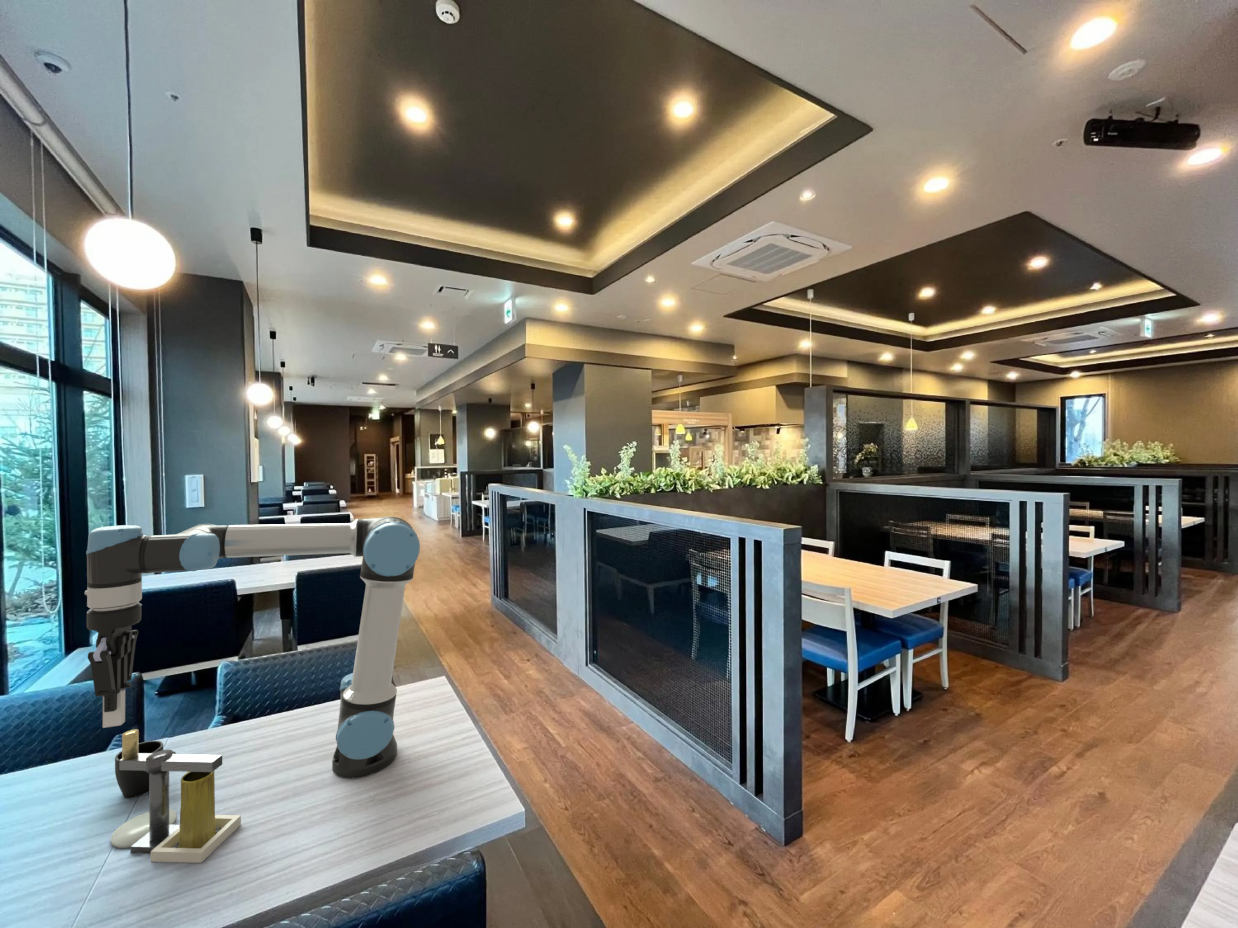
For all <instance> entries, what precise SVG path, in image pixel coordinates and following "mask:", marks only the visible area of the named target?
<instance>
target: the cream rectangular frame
mask: <svg viewBox="0 0 1238 928" xmlns="http://www.w3.org/2000/svg"><path fill="white" fill-rule="evenodd" d="M215 823H216V829H218V828H221V829H220V830H219V831H218V832H217V834H216V835H215V836H213V837H212V838H211V839H210V840H209V841H208V842H207V843H206V844H205V845H204V846H203V847H202V848H201V849H200V848H178V847H175V845H177V844H179V837H180V827H179V828H178V829H177V830H176V831H174V832H173V833H172V834H171V835H170V836H169V837H167V838H166V839H165V840H164V841H163V842H161V843H160V844H159V845H158V846H157V847H155V848H154V849H153V850H152V851H151V853H150V862H158V863H160V862H161V863H195V864H196V863H197V864H201V863H202V862H204V861H205V860H206V859H207V858H208V857H209V856H210V855H211V854H212V853H213V852H214V851H215V850H216V849H218V847H219V846H221V844H222V843H223V842H224V841H225V840H227V838H228V837H230V836H231V835H232V834H233V832H235V831H236V830H237V829H238V828H239V827H240V826H241V825H242V816H241V814H240V815H239V814H238V815H236V814H235V815H234V814H233V815H232V814H215Z"/></svg>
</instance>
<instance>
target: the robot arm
mask: <svg viewBox="0 0 1238 928" xmlns="http://www.w3.org/2000/svg"><path fill="white" fill-rule="evenodd" d="M420 545H421V544H420V539H419V537H418V534H417V533H416V532H415V530H414V529H413V527H412V525H411V524H410V523H409V522H407V520H405V519H403V518H400V517H398V516H383V517H376V518H375V517H374V518H356V519H354V520H353V521H352V522H348V523H347V522H345V523H343V522H342V523H339V522H338V523H293V524H292V523H287V524H283V523H282V524H234V525H233V524H231V525H221V524H220V525H216V524H212V523H199V524H196V525H192V526H190V527H189V528H187V529H186V530H183V531H181V532H179V533H174V534H161V535H160V534H158V535H152V534H151V535H148V534H146V535H145V534H144V532H143V529H142V527H141V526H139V525H133V524H131V525H129V524H126V525H125V524H123V525H109V526H107V525H106V526H101V527H96V528H93V529H92V530H91V531H90V532H89V534H88V539H87V547H86V551H85V552H86V553H85V555H86V569H87V570H86V579H87V583H86V587H87V589H86V590H85V591H84V595H85V596H86V598H87V599H86V600H87V601H86V607H88V608H89V609H88V610H87V612H86V629H87V630H89V631H93V632H97V636H96V637H97V638H96V639H95V640H96V641H95V648H96V649H95V651H89V652H88V654H87V659H88V661H89V663H90V668H91V673H92V674H91V675H92V680H93V687H94V693H95V697H102V728H103V729H104V728H112V727H119V726H122V725H123V724H124V723H125V722H126V689H127V688H131V687H132V686H133V682H129V681H132V677H133V670H134V669H133V667H134V661H135V651H136V644H137V639H138V635H139V630H138V629H133V628H132V626H134V625H136V624H138V623H140V621H142V603H140V601H142V599H143V590H142V589H143V580H142V579H143V576H142V575H143V574H152V573H153V574H154V573H171V572H172V573H174V572H189V571H190V572H196V571H199V570H210V569H212V568H214V567H215V566H216V565H217V563H218V561H219V559H227V558H249V557H250V558H252V557H253V558H254V557H275V556H276V557H277V556H279V557H280V556H282V557H283V556H298V555H299V556H300V555H301V556H303V555H306V556H307V555H327V554H328V555H329V554H330V555H331V554H332V555H333V554H351V555H352V556H353V557H354V558H355V557H356V558H357V557H358V558H359V557H360V558H361V557H362V559H361V560H362V561H361V569H360V574H359V577H360V579H361V580H362V581H363V582H364V584H365V590H364V595H363V601H362V602H363V603H362V610H361V616H360V622H359V623H360V624H359V630H358V637H357V644H356V651H355V657H354V665H353V671H352V672H351V673H349V674H347V675H345V676H344V677H343V678H342V679H341V681H340V688H339V691H340V704H339V714H338V721H337V722H338V723H337V729H336V730H337V731H336V734H335V741H336V748H335V751H334V753H333V757H332V760H331V761H332V765H331V766H332V767H331V768H332V772H333V773H334V775H336V776H337V777H340V778H344V779H357V778H358V779H359V778H363V777H368V776H371V775H374V774H377V773H378V772H381V771H383V770H385V769H386V768H388V766H391V764H392V763H393V762H394V761H395V759H396V758H397V756H398V743H397V740H396V737H395V734H394V731H395V722H394V716H395V715H394V714H395V706H396V699H397V692H398V689H397V687H396V686H395V685H394V684H393V683H392V680H393V673H394V666H395V661H396V652H397V646H398V644H397V643H398V638H399V632H400V624H401V618H402V609H403V604H404V597H405V596H404V595H405V590H406V585H407V584H408V583H410V582H411V581H412V580H414V574H415V573H414V572H415V567H416V561H417V560H418V557H419V554H420V551H421V549H420V548H421V546H420Z"/></svg>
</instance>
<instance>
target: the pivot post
mask: <svg viewBox="0 0 1238 928" xmlns="http://www.w3.org/2000/svg"><path fill="white" fill-rule="evenodd" d="M148 793H149V794H148V795H149V800H148V802H149V804H148V805H149V809H148V810H149V811H148V812H149V832H148V833H147V834H146V835H145V836H143V837H142V838H141V839H140V840H138V841H137V842H136V843H135V844H133V845H132V846H131V847H129V849H130V852H129V853H131V854H132V853H133V854H134V853H136V854H139V853H140V854H151V851H152V850H153V849H154V848H155V847H157V846H158V845H159V844H160V843H161V842H163V841H164V840H165V839H166V838H167V837H169V836H170V835H171V834H172V833H173V832H174V831H176V830H177V829H178V828H179V827H180V824H174V825H169V809H170V771H160V772H156V773H149V792H148Z"/></svg>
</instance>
